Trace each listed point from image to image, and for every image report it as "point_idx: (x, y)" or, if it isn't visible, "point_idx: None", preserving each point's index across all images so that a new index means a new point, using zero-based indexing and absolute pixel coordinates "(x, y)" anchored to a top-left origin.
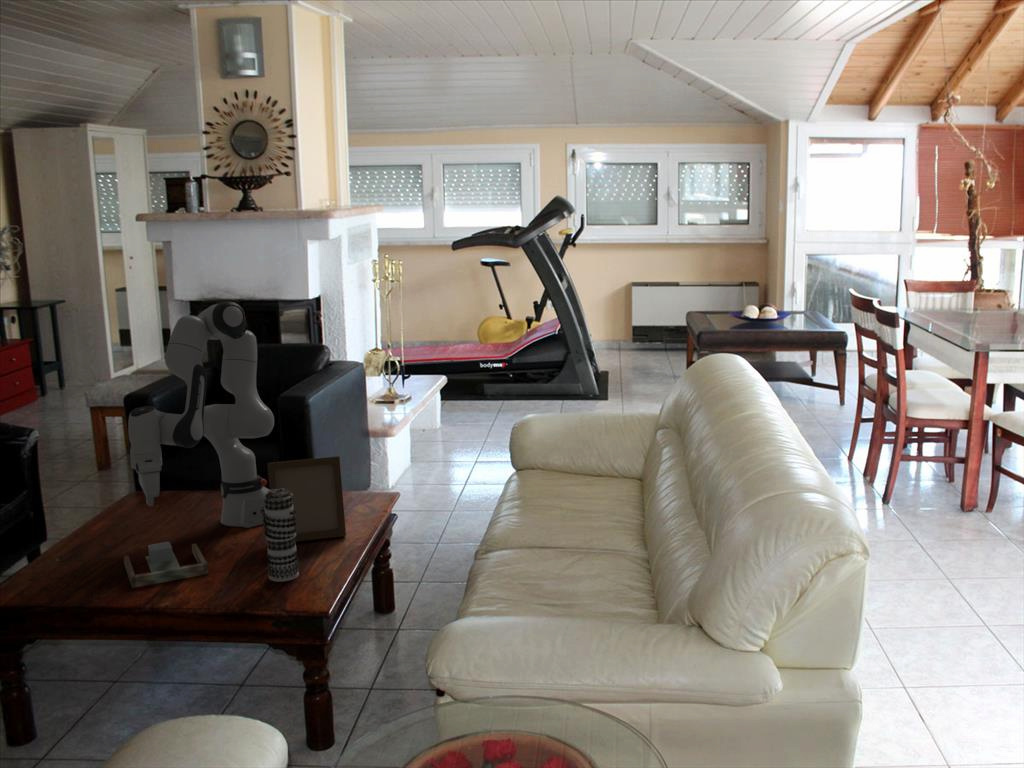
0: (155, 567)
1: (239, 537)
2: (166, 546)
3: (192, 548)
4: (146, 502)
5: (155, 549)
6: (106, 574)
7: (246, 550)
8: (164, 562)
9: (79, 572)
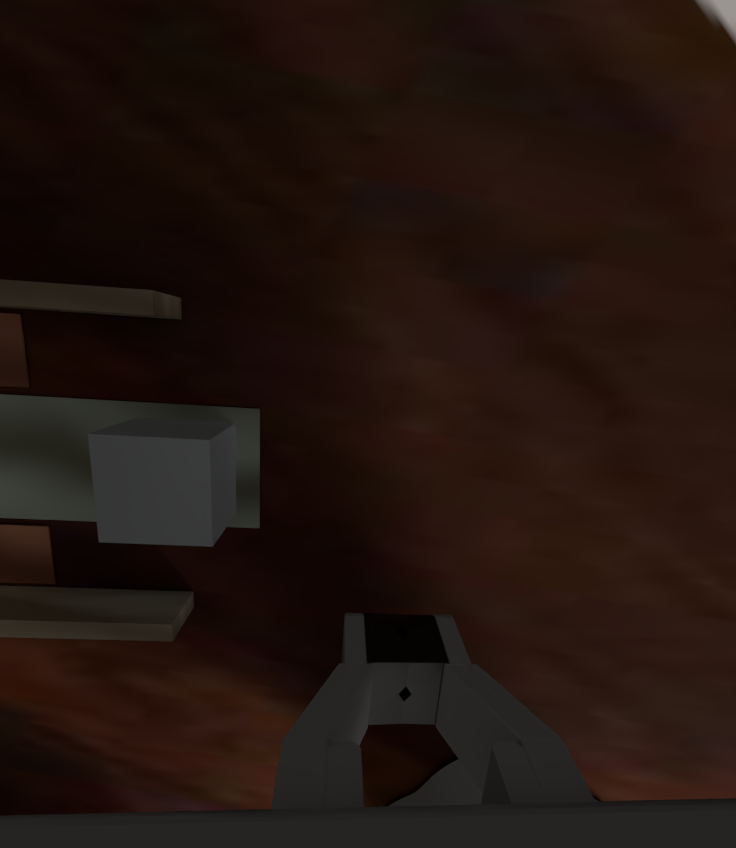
0: (79, 423)
1: None
2: (131, 520)
3: (169, 611)
4: (440, 623)
5: (106, 462)
6: (94, 187)
7: (128, 759)
8: None
9: (197, 48)
